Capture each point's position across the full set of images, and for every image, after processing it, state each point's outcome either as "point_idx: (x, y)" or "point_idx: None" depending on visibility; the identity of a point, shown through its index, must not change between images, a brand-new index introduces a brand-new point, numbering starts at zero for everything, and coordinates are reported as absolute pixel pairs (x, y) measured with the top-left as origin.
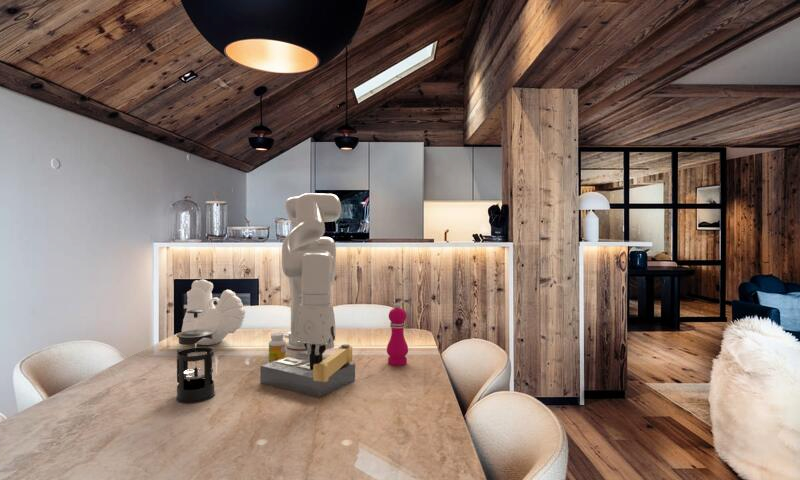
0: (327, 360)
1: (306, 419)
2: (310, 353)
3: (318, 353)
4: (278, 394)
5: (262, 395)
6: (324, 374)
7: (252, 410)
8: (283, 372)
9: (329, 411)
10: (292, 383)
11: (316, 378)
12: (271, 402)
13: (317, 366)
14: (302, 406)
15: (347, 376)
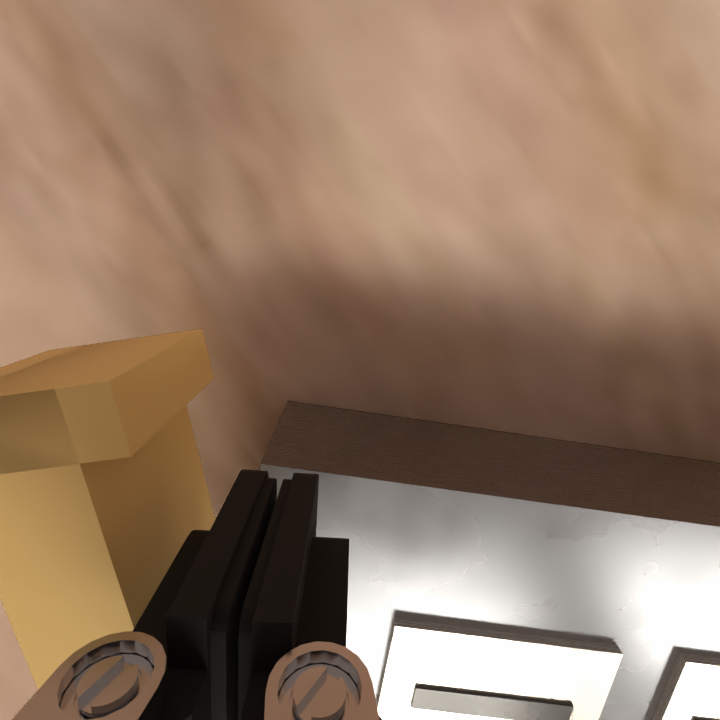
0: (71, 646)
1: (132, 34)
2: (291, 660)
3: (58, 675)
4: (593, 353)
5: (698, 293)
6: (12, 367)
7: (618, 8)
8: (697, 516)
9: (78, 232)
10: (550, 461)
11: (154, 340)
12: (561, 206)
13: (42, 383)
14: (305, 233)
15: None
